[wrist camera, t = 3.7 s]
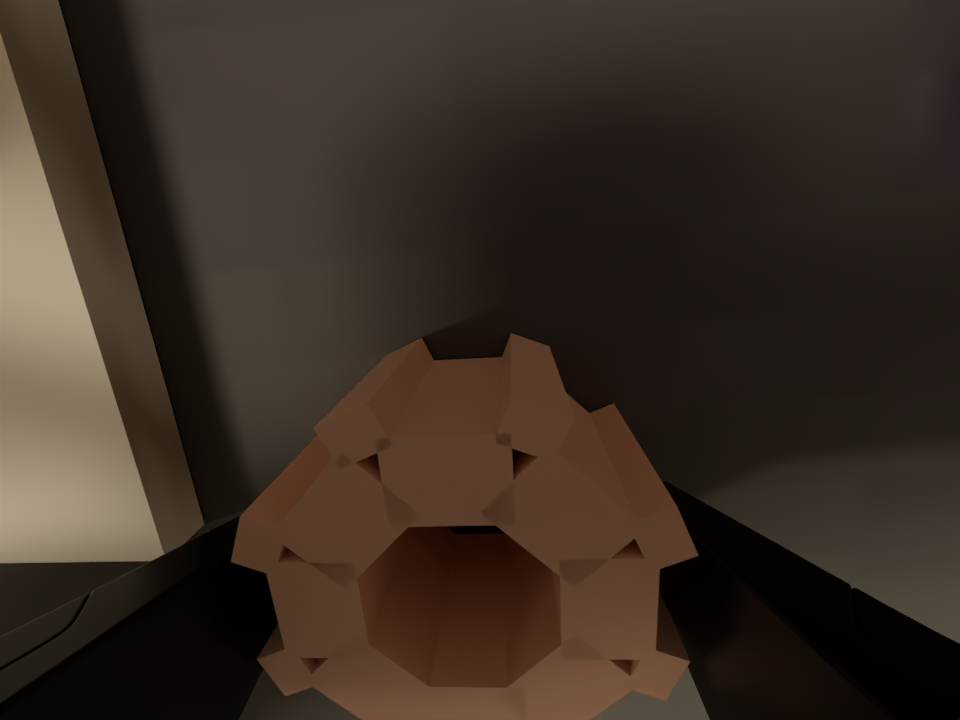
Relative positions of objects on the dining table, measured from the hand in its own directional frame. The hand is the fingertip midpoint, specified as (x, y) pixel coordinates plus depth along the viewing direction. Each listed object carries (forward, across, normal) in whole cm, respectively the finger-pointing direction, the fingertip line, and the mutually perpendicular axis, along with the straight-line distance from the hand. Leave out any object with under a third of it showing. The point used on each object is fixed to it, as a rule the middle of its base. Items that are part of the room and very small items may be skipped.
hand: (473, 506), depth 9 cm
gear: (+1, 0, 0) cm, 1 cm away
